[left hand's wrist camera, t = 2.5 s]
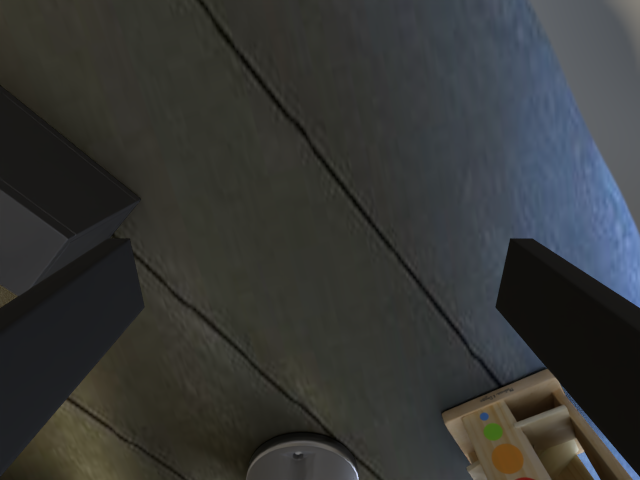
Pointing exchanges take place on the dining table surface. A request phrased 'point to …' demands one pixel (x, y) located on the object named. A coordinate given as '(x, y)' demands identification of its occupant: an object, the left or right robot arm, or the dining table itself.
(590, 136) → the dining table surface
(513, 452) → the pounding bench toy
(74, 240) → the cabinet
